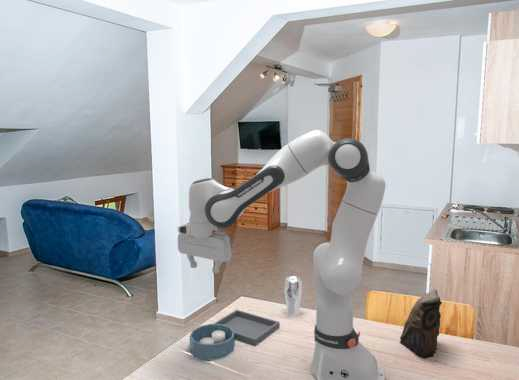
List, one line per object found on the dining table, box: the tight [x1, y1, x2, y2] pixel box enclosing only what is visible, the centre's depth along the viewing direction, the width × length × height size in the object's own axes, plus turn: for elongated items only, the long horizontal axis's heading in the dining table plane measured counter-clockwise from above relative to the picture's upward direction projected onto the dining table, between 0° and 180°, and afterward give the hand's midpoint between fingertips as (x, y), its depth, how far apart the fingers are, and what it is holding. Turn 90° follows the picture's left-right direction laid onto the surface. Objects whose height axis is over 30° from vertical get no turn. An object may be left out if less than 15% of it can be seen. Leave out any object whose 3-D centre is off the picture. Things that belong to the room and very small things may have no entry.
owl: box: [399, 288, 443, 360], centre depth 143 cm, size 13×13×20 cm
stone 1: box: [200, 337, 214, 344], centre depth 143 cm, size 5×5×3 cm
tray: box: [213, 309, 280, 347], centre depth 158 cm, size 20×16×3 cm
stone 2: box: [212, 330, 225, 344], centre depth 148 cm, size 5×5×3 cm
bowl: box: [189, 323, 236, 362], centre depth 145 cm, size 15×15×6 cm
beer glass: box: [284, 275, 303, 317], centre depth 171 cm, size 7×7×15 cm
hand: (204, 270), depth 139 cm, fingers open, 8 cm apart
